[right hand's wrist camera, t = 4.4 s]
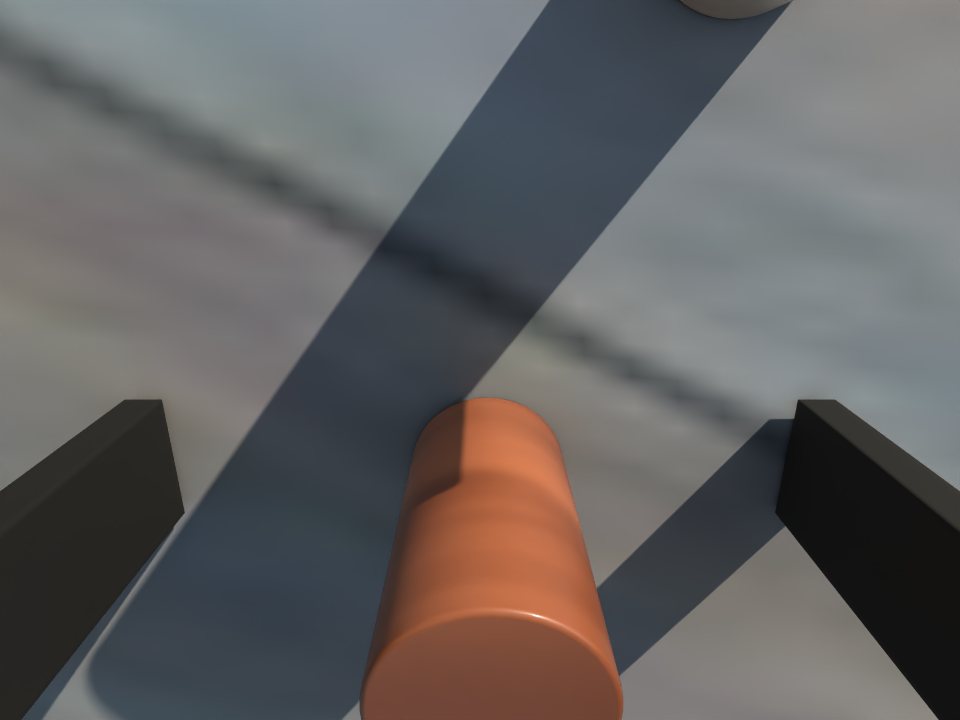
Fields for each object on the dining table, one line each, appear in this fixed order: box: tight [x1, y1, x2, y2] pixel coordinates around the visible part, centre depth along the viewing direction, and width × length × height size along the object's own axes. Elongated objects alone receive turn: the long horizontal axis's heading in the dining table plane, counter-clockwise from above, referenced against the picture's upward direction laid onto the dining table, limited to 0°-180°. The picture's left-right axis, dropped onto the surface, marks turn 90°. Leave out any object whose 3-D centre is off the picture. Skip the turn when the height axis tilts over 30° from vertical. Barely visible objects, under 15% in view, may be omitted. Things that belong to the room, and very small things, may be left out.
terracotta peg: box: [360, 398, 623, 720], centre depth 10 cm, size 3×3×6 cm
